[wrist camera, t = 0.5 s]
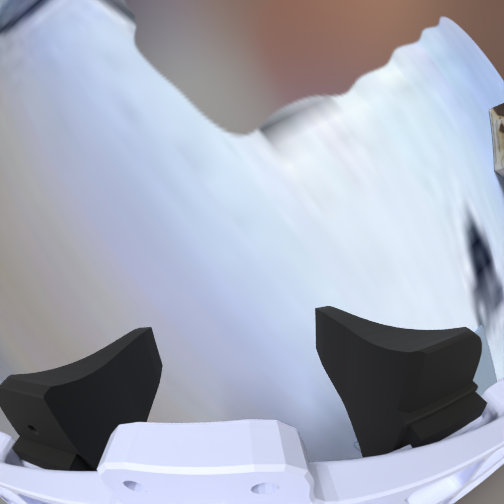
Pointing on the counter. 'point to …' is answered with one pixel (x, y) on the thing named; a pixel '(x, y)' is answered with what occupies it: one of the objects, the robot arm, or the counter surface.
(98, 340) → the counter surface
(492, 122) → the coffee box
